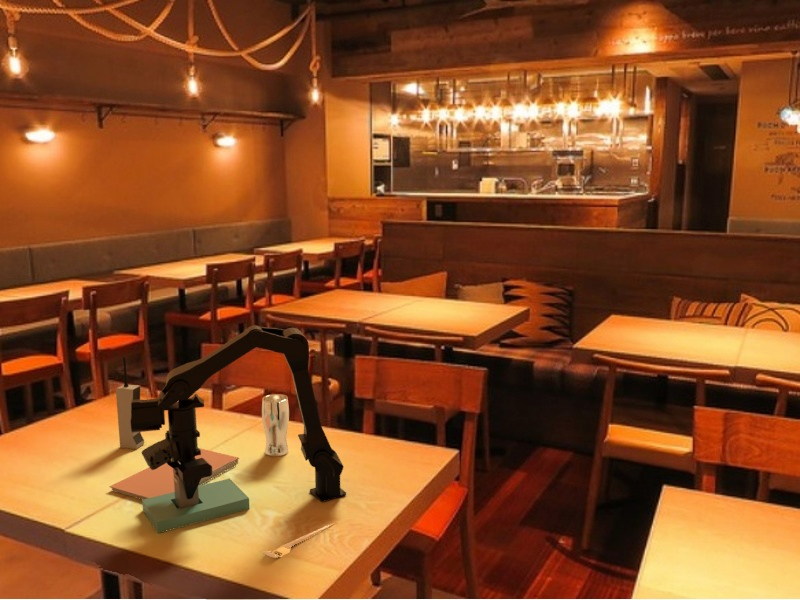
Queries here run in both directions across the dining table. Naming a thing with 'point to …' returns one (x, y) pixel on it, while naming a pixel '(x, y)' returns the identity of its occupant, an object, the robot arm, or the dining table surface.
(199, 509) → the green slotted board
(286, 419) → the beer glass
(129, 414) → the vintage mobile phone
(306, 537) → the fork
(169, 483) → the notebook
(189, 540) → the dining table surface
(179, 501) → the block
